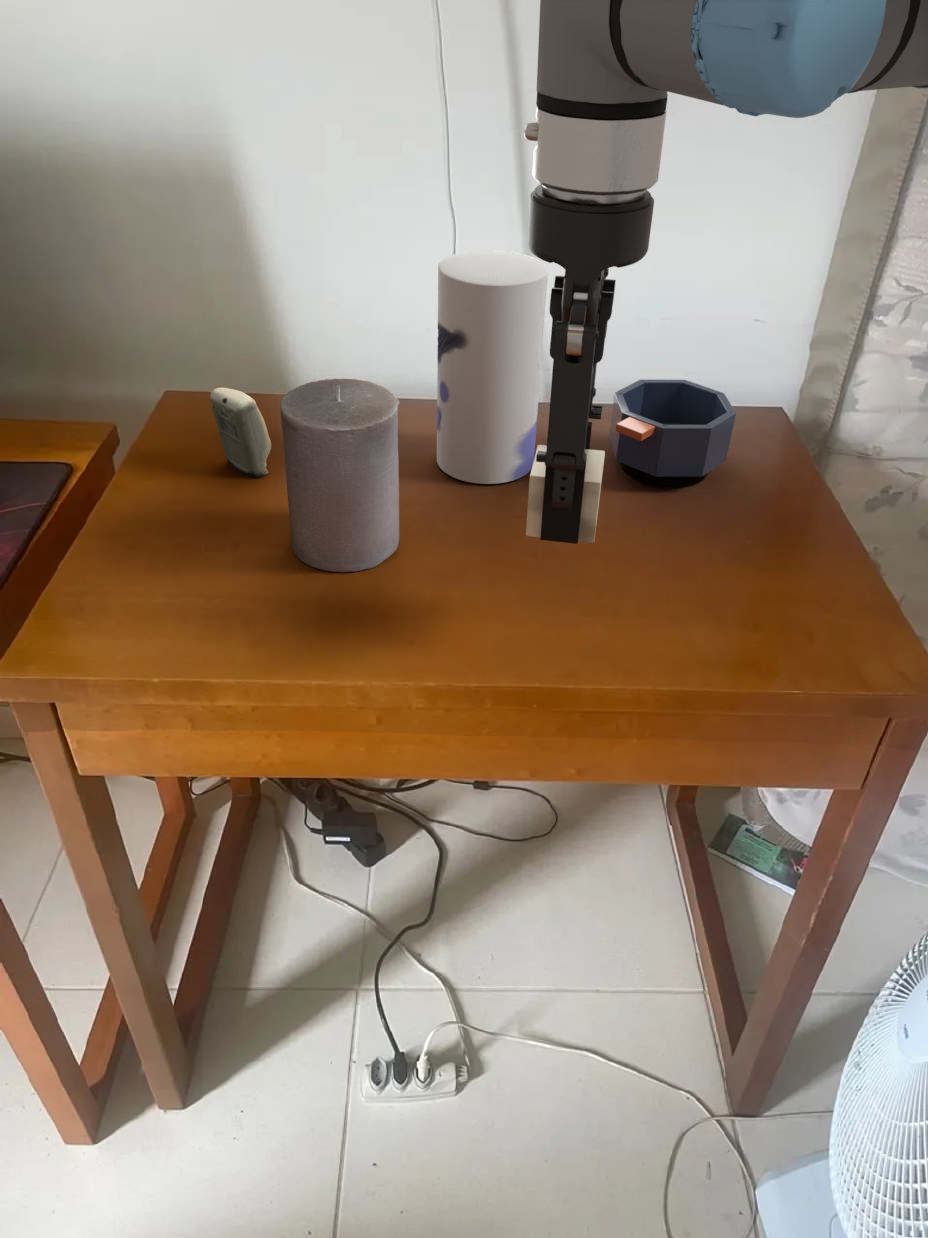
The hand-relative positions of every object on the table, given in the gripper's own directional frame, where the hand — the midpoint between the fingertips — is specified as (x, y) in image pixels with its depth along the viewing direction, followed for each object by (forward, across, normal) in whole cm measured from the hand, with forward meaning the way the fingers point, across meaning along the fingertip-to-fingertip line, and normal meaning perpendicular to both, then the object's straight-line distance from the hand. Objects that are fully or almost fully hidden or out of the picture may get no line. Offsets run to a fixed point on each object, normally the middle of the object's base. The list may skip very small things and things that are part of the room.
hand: (562, 518), depth 73 cm
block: (0, 0, 0) cm, 0 cm away
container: (+10, -26, -10) cm, 30 cm away
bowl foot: (+10, -29, +9) cm, 32 cm away
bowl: (+8, -28, +8) cm, 31 cm away
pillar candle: (+10, -8, -20) cm, 24 cm away
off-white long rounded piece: (+10, -20, -33) cm, 40 cm away
